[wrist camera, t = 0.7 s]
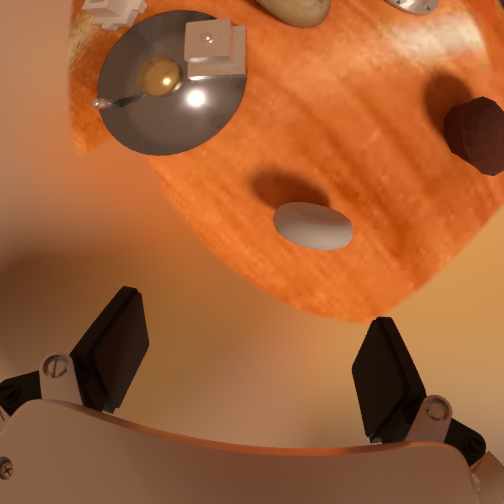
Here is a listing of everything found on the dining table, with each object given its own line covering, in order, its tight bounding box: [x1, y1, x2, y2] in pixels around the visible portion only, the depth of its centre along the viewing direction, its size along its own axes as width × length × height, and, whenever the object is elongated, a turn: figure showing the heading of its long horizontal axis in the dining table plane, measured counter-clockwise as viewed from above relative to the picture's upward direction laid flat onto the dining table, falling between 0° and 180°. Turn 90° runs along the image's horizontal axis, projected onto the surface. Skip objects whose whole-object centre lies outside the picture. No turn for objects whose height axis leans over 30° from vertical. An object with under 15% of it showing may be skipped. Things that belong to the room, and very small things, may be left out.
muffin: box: [444, 96, 504, 176], centre depth 25 cm, size 12×11×10 cm
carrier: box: [92, 10, 247, 156], centre depth 27 cm, size 22×22×9 cm
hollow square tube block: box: [81, 0, 148, 32], centre depth 22 cm, size 9×9×7 cm
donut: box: [273, 202, 353, 250], centre depth 33 cm, size 10×3×10 cm, turn 82°
